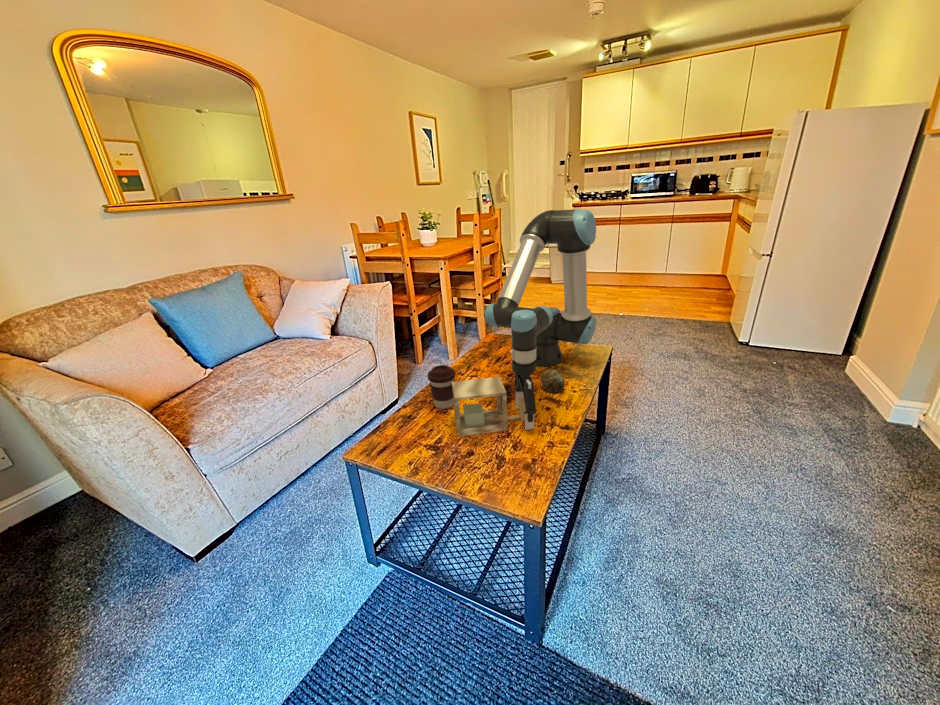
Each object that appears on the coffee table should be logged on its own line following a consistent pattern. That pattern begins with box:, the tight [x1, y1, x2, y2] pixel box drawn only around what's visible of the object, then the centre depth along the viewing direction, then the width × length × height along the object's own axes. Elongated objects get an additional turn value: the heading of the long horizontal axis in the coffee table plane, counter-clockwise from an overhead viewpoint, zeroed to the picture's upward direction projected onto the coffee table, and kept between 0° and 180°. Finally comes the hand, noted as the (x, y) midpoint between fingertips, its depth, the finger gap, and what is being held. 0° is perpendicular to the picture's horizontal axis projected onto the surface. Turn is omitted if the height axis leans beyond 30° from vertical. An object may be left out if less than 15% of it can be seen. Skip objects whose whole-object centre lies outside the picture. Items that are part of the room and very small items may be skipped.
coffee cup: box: [427, 364, 456, 410], centre depth 142 cm, size 10×10×15 cm
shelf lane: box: [452, 376, 508, 437], centre depth 128 cm, size 16×11×15 cm
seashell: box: [540, 368, 565, 394], centre depth 150 cm, size 11×9×8 cm
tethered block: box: [463, 398, 526, 428], centre depth 130 cm, size 22×6×8 cm, turn 97°
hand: (524, 418), depth 132 cm, fingers open, 12 cm apart
